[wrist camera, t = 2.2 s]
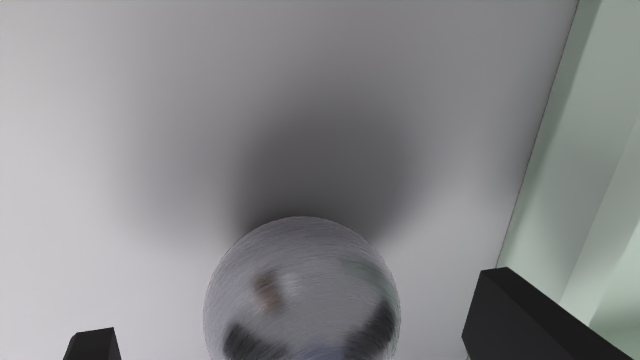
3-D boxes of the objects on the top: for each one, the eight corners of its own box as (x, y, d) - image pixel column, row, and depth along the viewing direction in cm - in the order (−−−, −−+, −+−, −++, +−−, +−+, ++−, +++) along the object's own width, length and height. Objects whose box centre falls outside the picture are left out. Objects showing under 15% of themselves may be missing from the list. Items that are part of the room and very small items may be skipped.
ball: (357, 296, 14) (415, 438, 11) (202, 321, 14) (219, 482, 10) (373, 170, 12) (451, 302, 9) (189, 188, 11) (204, 343, 8)
